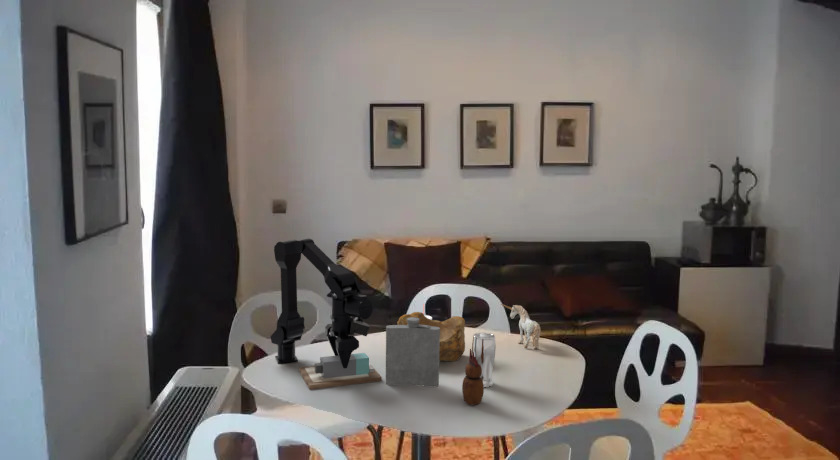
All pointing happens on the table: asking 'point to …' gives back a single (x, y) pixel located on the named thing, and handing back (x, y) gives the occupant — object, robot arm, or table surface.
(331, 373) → the marker
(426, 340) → the hip flask
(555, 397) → the table surface
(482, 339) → the beer glass
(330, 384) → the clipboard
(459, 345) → the rough brown rock
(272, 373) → the table surface
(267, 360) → the table surface
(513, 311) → the unicorn figurine
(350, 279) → the robot arm
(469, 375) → the wooden figurine
